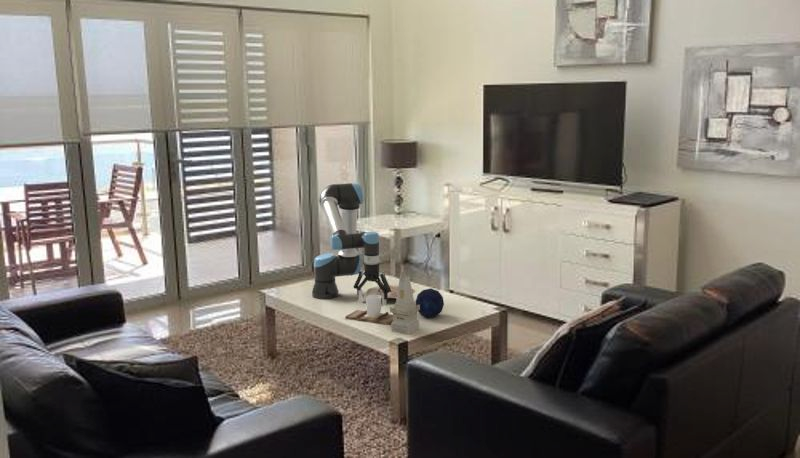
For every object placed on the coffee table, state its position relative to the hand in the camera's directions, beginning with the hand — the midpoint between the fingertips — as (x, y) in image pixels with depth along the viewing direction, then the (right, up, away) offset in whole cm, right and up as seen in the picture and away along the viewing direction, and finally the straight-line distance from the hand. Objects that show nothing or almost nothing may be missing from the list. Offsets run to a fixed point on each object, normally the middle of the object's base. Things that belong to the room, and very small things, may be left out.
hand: (372, 303), depth 353 cm
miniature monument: (+16, -11, -18) cm, 27 cm away
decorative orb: (+29, -7, +4) cm, 30 cm away
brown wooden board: (0, -7, +1) cm, 8 cm away
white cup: (+1, -6, +1) cm, 6 cm away
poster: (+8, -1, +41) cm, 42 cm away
